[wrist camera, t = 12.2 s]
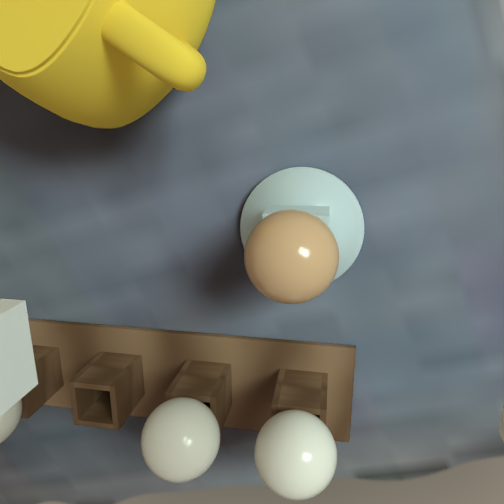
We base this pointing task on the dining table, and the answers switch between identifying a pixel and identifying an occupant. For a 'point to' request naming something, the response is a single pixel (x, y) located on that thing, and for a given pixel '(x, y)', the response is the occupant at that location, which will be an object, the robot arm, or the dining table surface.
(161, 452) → the white egg
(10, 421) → the white egg
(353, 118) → the dining table surface
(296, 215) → the brown egg
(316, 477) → the white egg
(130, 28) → the teapot
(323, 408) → the egg rack
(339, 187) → the egg cup
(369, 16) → the dining table surface
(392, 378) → the dining table surface
